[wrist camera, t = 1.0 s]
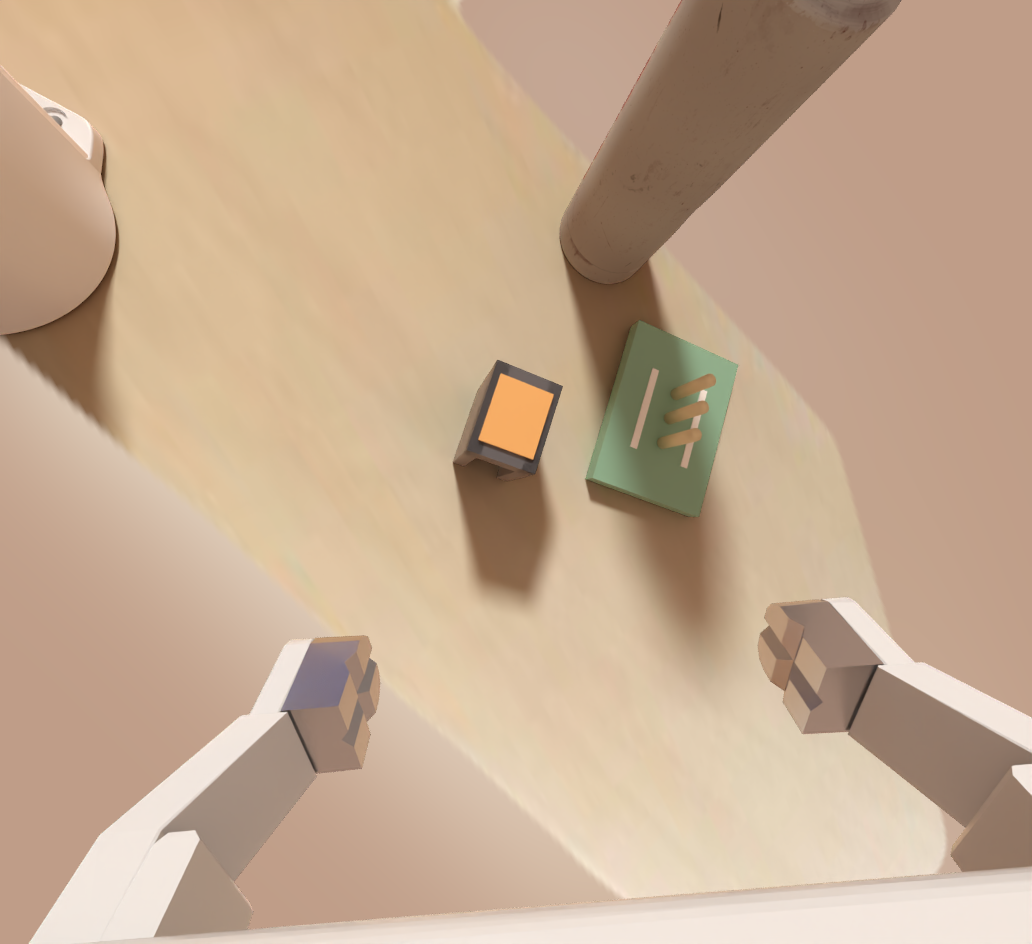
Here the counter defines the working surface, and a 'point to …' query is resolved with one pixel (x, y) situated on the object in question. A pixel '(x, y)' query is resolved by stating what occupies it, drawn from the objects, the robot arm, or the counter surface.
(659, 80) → the thermos bottle
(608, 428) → the header board
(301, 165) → the counter surface
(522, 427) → the block
